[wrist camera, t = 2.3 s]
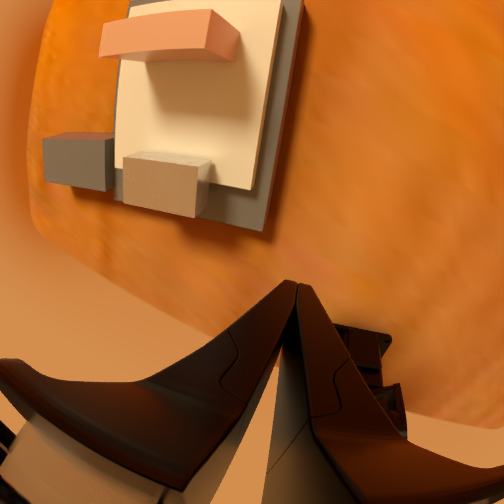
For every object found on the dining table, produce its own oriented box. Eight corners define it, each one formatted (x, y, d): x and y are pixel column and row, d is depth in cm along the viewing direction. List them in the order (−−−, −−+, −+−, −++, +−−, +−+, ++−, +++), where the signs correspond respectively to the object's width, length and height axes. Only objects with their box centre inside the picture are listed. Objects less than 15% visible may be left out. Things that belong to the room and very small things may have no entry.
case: (267, 220, 21) (258, 238, 18) (67, 181, 23) (46, 191, 21) (304, 4, 13) (301, -13, 10) (75, 24, 15) (52, 21, 13)
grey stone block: (207, 206, 18) (194, 218, 16) (140, 193, 18) (123, 203, 17) (211, 159, 16) (198, 166, 14) (141, 150, 17) (122, 157, 15)
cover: (254, 185, 18) (227, 217, 13) (122, 164, 19) (71, 186, 14) (283, 4, 12) (266, -35, 7) (138, 10, 13) (86, -7, 8)
